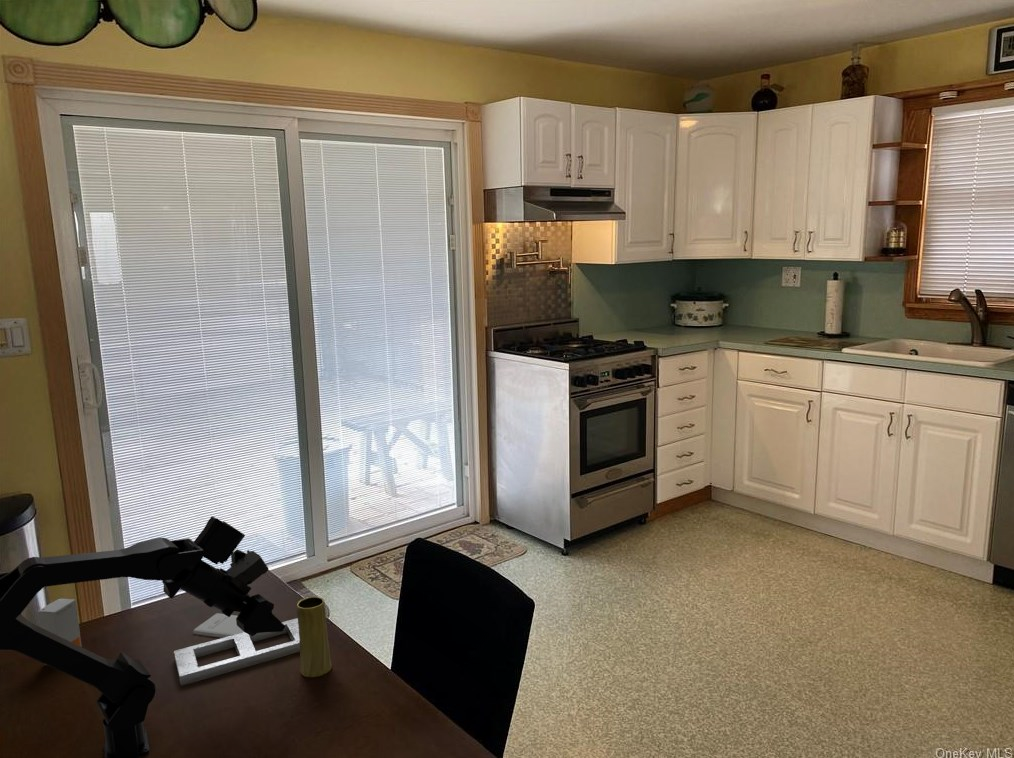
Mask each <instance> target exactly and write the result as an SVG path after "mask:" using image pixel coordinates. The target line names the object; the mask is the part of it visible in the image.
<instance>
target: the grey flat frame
mask: <svg viewBox="0 0 1014 758" xmlns="http://www.w3.org/2000/svg"><path fill="white" fill-rule="evenodd" d="M281 622H282V623H283V624H284V625H285V628H284V630H283V631H282V632H263V633H257V634H256V635H254V636H251V635H249V634H247V633H245V632H243V633H239V634H236V635H232V636H228V637H224V638H218V639H213V640H210V641H207V642H206V641H205V642H202V643H198V644H195V645H194V644H193V645H191V646H188V647H183V648H180V649H175V650H174V651H173V654H174V661H175V666H176V670H177V675H178V680H179V683H180V687H181V686H186V685H189V684H194V683H196V682H199V681H203V680H204V681H205V680H207V679H210V678H214V677H217V676H221V675H224V674H229V673H231V672H235V671H238V670H241V669H244V668H249V667H251V666H255V665H259V664H261V663H265V662H269V661H272V660H276V659H280V658H283V657H285V656H286V657H287V656H289V655H293V654H296V653H300V639H299V626H298V617H297V618H293V619H290V620H289V619H288V620H285V621H281ZM283 634H288V637H289V638H290V640H291V641H288V642H285V643H280V644H277V645H273V646H270V647H267V648H263V649H259V650H256V648H255V646H254V644H253V643H254V642H258V641H262V640H265V639H269V638H273V637H277V636H280V635H283ZM232 648H235V651H236V654H237V656H234V657H231V658H227V659H224V660H219V661H216V662H212V663H209V664H206V665H202V666H198V661H197V658H200V657H204V656H206V655H207V656H208V655H211V654H215V653H218V652H223V651H226V650H229V649H232Z"/></svg>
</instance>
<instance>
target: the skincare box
mask: <svg viewBox="0 0 1014 758" xmlns="http://www.w3.org/2000/svg"><path fill="white" fill-rule="evenodd" d="M36 613H37V614H36V615H37V620H38V621H37V622H38V626H39V627H41V628H43V629H45V630H47V631H49V632H51V633H53V634H55V635H57V636H59V637H62V638H64V639H66V640H68V641H70V642H72V643H74V644H76V645H78V646H80V647H82V640H81V632H80V623H79V622H80V621H79V615H78V605H77V600H76V599H75V598H74V599H73V598H58V599H56V600H54V601H52V602H50V603H48V604H47V605H45V606H44V607H42V608H41V609H39V610H37V612H36ZM82 648H83V647H82ZM43 665H44V666H47V665H46V664H43Z"/></svg>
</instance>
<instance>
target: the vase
mask: <svg viewBox="0 0 1014 758" xmlns="http://www.w3.org/2000/svg"><path fill="white" fill-rule="evenodd" d="M296 613H297V618H298V626H299V639H300V652H299V654H300V657H299V658H300V659H299V661H300V674H301V675H302V676H303V677H306V678H319V677H322V676H324V675H326V674H328V673H329V672H331V669H332V668H333V664H332V660H331V659H332V658H331V653H330V644H329V635H328V628H327V615H326V605H325V599H324V598H322V597H320V596H308V597H305V598H302V599H300V600H299V601H297V604H296Z"/></svg>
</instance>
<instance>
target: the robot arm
mask: <svg viewBox="0 0 1014 758" xmlns="http://www.w3.org/2000/svg"><path fill="white" fill-rule="evenodd" d="M245 536H246V535H245V534H244V533H243V532H241V531H240V530H238V529H237V528H235V527H233V525H231V524H229V523H227V522H225V520H224V521H222V520H220V519H218V518H217V517H215V516H213V515H211V516H210V518H209V519H208V520H207V522H206V524H205V526H204V528H203V529H202V530H201V532H200V533H199V534H198V535H197V537H196V538H195V539H194V541H193V540H192V539H191V538H181V539H174V540H170V539H168V538H166V537H156V538H151V539H147V540H142V541H140V542H136V543H134V544H132V545H130V546H128V547H125V548H120V549H116V550H104V551H96V552H95V551H93V552H85V553H75V554H65V555H55V556H45V557H44V556H43V557H40V556H39V557H38V556H32V557H28V558H26V559H24V560H23V561H22V562H21V563H19V564H18V565H17V566H16V567H15V568H14V569H12V570H11V571H9V572H7V573H6V574H5V575H3V576H1V577H0V651H10V652H11V651H13V652H16V653H19V654H22V655H24V656H26V657H29V658H30V659H33V660H35V661H37V662H39V663H41V664H43V665H44V664H46V665H45V666H48V667H51V668H52V669H55V670H57V671H59V672H61V673H63V674H65V675H68V676H70V677H72V678H74V679H76V680H79V681H81V682H84V683H85V684H87V685H90V686H92V687H94V688H96V689H97V690H98V691H99V692H100V693H101V694H100V696H98V698H97V700H96V701H95V704H96V706H97V707H98V710H99V712H100V713H101V715H102V717H103V720H102V723H103V731H104V738H105V742H103V743H104V744H103V745H104V746H103V747H104V750H103V752H104V758H138V757H141V756H144V755H146V754H148V753H149V752H150V746H149V739H148V738H149V737H148V732H147V729H144V727H145V726H144V721H145V720H146V716H147V712H148V709H149V705H150V704H151V702H152V701H153V699H154V698H155V695H156V691H157V690H156V685H155V683H154V681H153V680H152V678H151V677H152V675H151V673H150V672H149V671H148V669H147V667H146V666H145V665H144V664H143V662H142V660H141V659H134V658H131V657H130V656H128V655H127V654H125V653H124V652H123V651H121V652H120V653H119V655H118V656H117V658H116V659H115V658H106V657H103V656H101V655H99V654H98V653H97V654H96V653H95V652H92V651H90V650H88V649H86V648H85V647H80V646H78V645H76V644H74V643H72V642H70V641H68V640H66V639H64V638H62V637H59V636H57V635H55V634H53V633H51V632H49V631H47V630H45V629H43V628H41V627H39V625H36V624H35V623H33V622H31V621H30V620H28V619H27V618H26V617H25V616H23V615H22V613H23V612H24V611H25V609H26V607H28V605H29V604H30V603H31V602H32V601H33V599H34V598H35V596H36V595H37V594H38V593H40V591H42V590H43V589H44V588H45V587H54V586H61V585H69V584H79V583H85V582H86V583H87V582H95V581H102V580H110V579H117V578H118V579H119V578H132V579H137V580H139V579H140V580H145V581H161V583H162V584H163V592H164V594H165V595H166V596H167V597H168V598H169V599H173V598H175V597H176V595H177V593H178V592H179V590H181V591H182V592H183V591H184V592H185V593H187V594H189V595H191V596H192V597H194V598H196V599H198V600H200V601H202V602H203V603H204V604H205V605H206V606H207V607H209V608H211V609H212V607H213V608H215V609H216V610H218V611H220V612H221V614H225V615H226V616H228V617H230V616H231V615H233V613H234V612H237V613H238V615H236V616H237V618H236V622H237V626H238V627H239V628H240V629H241V630H243V631H244V632H245V633H247V634H249V635H251V636H254V635H256V634H257V633H263V632H282V631H283V630H284V628H285V625H284V624H283V623H282V622H283V621H281V620H280V619H279V618H277V616H276V615H275V614H273V610H274V608H275V604H274V603H273V602H272V601H271V600H269V599H268V598H266V597H264V596H263V595H261V594H260V593H257V594H254V595H252V596H251V595H249V593H250V591H251V590H252V587H251V586H249V585H252V583H254V582H255V581H256V580H257V579H259V578H260V577H261V576H262V575H265V574H266V573H268V571H269V567H268V565H267V564H266V563H265V561H264V559H263V558H262V556H261V555H260V554H258V553H257V552H255V551H254V550H251V551H250V550H247V551H246V552H244V551H242V550H240V549H237V548H238V546H239V545H240V543H241V542H242V540H243V539H244V538H245ZM203 558H204V559H206V560H208V561H209V562H211V563H213V564H215V565H218V564H221V565H223V564H224V563H226V562H228V560H229V558H231V561H230V562H231V563H230V564H229V565H230V567H229V568H228V569H227V570H225V569H223V568H221V567H220V568H216V567H214V566H213V565H211V564H209V563H208V562H206V561H204V560H202V559H203Z"/></svg>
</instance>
